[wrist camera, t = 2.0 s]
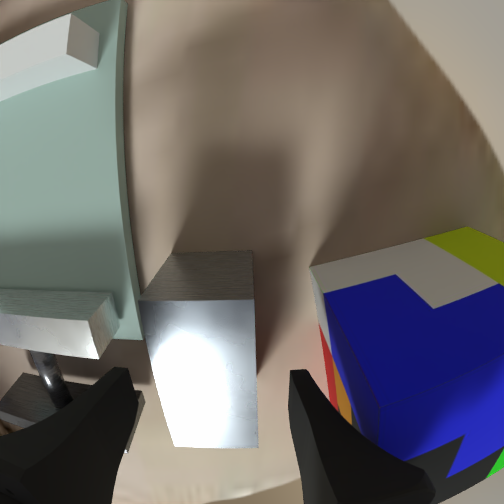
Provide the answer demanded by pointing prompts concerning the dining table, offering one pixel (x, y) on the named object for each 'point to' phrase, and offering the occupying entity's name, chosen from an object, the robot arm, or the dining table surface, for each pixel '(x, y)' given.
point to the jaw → (54, 347)
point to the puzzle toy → (420, 352)
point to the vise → (67, 161)
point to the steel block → (204, 347)
